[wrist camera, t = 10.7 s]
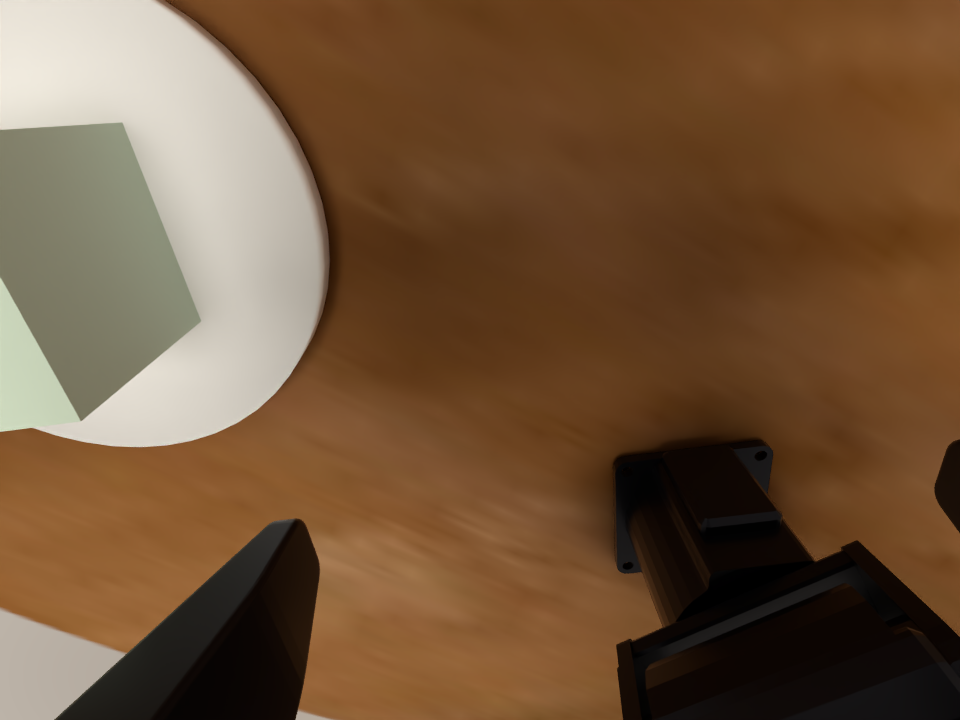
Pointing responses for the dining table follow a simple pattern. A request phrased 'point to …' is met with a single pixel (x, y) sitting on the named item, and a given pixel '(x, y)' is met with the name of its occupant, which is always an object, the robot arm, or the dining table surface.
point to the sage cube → (80, 273)
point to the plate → (184, 200)
